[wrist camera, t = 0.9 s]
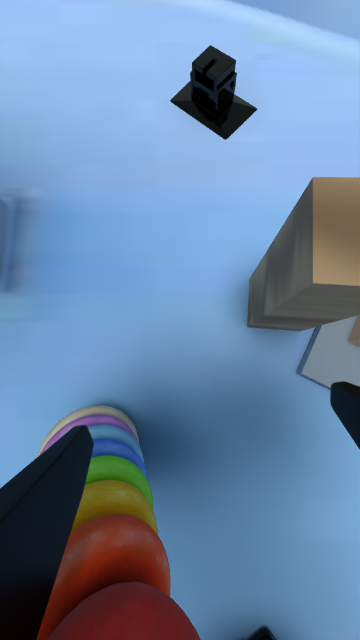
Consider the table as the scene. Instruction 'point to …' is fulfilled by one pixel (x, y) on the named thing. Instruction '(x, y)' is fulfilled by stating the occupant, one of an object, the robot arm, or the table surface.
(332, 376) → the grey board with frame
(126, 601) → the stacking toy
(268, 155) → the table surface
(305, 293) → the walnut pillar
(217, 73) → the black block on base
